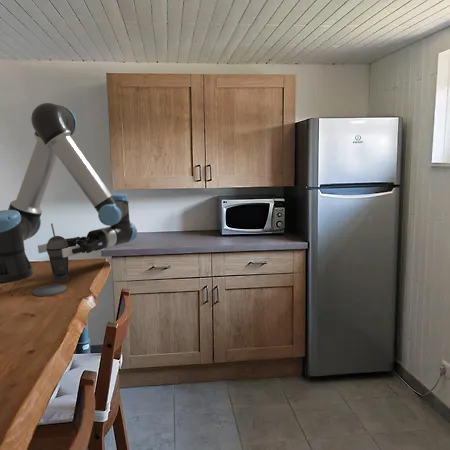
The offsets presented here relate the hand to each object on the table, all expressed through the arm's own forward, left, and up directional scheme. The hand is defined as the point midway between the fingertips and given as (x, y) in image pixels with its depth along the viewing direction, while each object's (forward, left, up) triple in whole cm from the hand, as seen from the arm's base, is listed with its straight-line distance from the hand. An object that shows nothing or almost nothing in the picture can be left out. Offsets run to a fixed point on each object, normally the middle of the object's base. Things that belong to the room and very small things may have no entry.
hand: (50, 251), depth 152 cm
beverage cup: (0, +3, -11) cm, 12 cm away
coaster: (+7, -6, -11) cm, 14 cm away
